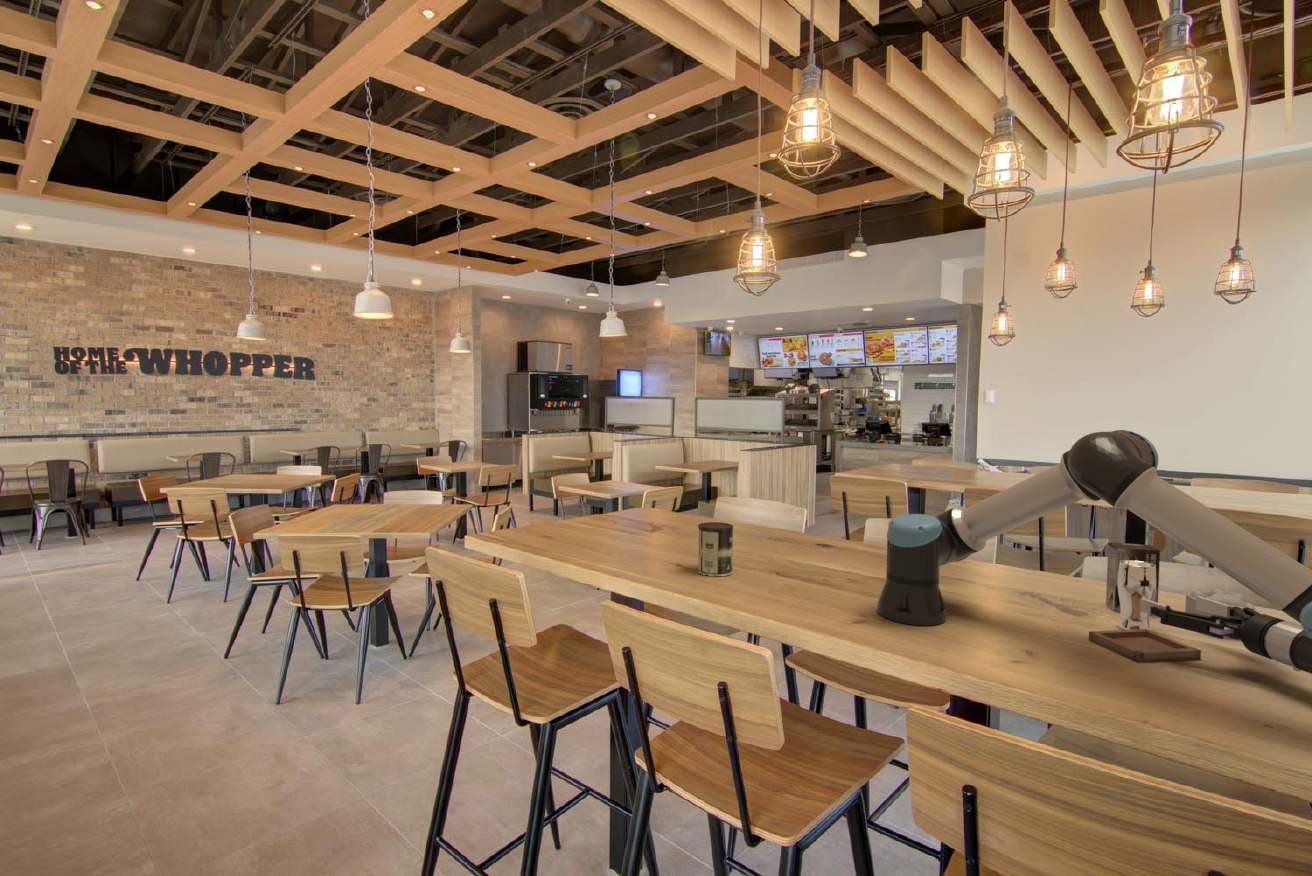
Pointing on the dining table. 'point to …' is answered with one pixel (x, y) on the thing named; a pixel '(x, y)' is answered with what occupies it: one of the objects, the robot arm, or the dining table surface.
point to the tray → (1144, 645)
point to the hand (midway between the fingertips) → (1169, 603)
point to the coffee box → (1127, 553)
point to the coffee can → (715, 548)
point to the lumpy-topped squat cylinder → (1214, 595)
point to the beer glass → (1135, 593)
